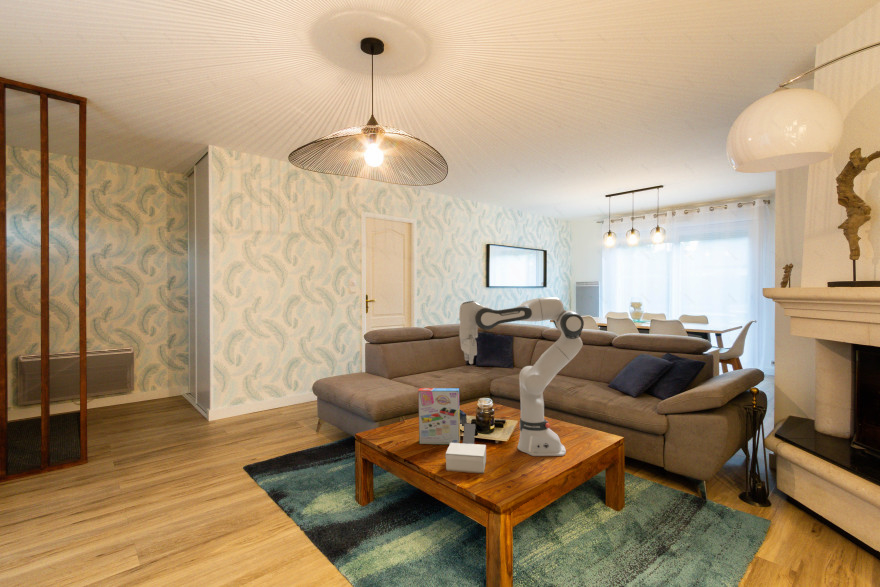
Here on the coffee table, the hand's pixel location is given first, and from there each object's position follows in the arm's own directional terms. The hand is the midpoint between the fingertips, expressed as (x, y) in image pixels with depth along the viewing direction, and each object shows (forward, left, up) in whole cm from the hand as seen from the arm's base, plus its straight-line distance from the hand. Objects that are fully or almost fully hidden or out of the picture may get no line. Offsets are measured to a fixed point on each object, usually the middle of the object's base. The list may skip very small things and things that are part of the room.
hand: (468, 362), depth 200 cm
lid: (-1, +19, -36) cm, 41 cm away
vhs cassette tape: (+10, -28, -42) cm, 51 cm away
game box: (+16, -3, -42) cm, 45 cm away
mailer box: (-1, +22, -42) cm, 47 cm away
